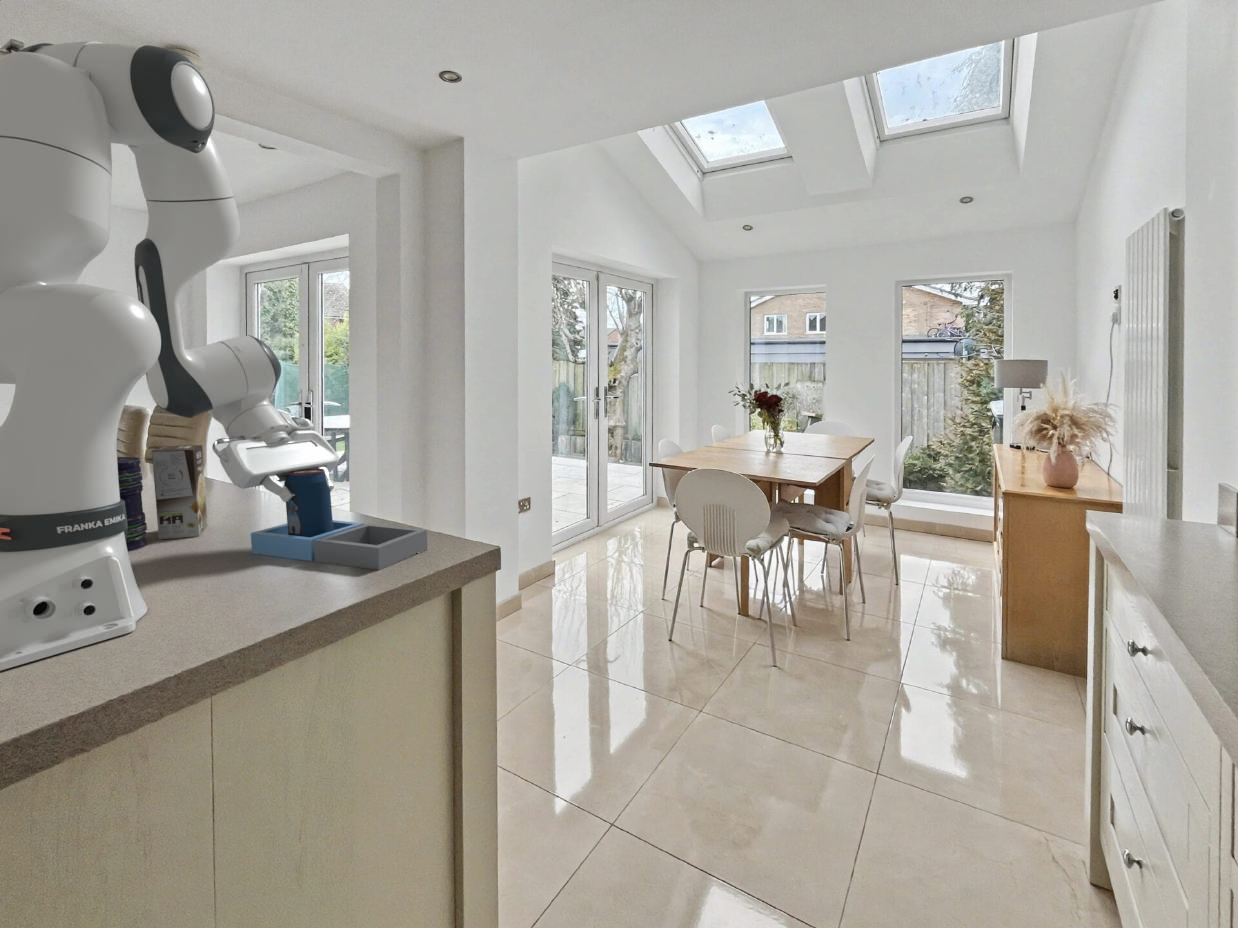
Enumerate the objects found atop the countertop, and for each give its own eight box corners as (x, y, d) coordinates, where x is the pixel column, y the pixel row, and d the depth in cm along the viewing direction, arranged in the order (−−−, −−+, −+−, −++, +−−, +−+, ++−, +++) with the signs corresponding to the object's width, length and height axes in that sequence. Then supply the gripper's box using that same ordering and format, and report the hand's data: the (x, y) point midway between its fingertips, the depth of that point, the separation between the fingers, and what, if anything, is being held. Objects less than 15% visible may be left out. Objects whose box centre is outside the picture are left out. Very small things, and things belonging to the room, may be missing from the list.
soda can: (338, 533, 112) (333, 467, 110) (326, 543, 105) (321, 472, 104) (297, 535, 111) (291, 468, 109) (282, 545, 104) (276, 474, 103)
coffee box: (200, 536, 115) (193, 449, 112) (158, 540, 112) (150, 450, 110) (209, 525, 123) (202, 444, 121) (169, 528, 120) (162, 445, 118)
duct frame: (379, 569, 96) (378, 547, 96) (252, 553, 104) (250, 532, 104) (427, 549, 108) (426, 529, 108) (309, 536, 116) (308, 517, 116)
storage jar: (62, 550, 104) (52, 461, 102) (130, 537, 113) (122, 455, 111) (91, 559, 100) (82, 466, 98) (160, 545, 108) (152, 459, 106)
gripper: (216, 427, 98) (269, 493, 96) (317, 419, 117) (362, 474, 115) (197, 453, 100) (248, 519, 98) (299, 441, 119) (343, 496, 117)
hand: (310, 494), depth 107 cm, fingers closed on soda can, 7 cm apart
